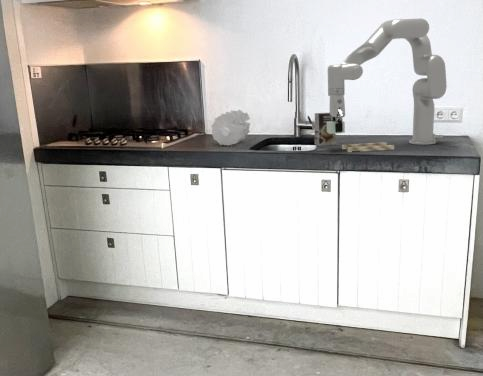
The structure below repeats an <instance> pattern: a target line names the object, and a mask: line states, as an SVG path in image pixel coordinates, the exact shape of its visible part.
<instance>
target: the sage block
mask: <svg viewBox="0 0 483 376" xmlns="http://www.w3.org/2000/svg"><path fill="white" fill-rule="evenodd" d="M345 123H346V122H345V121H343V123H342V124H343V131H342V132H336V130H335V124H336V121H329V122H327V133H329V134H334V133H335V134H345V133H346V131H345V129H346V127H345Z"/></svg>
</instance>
